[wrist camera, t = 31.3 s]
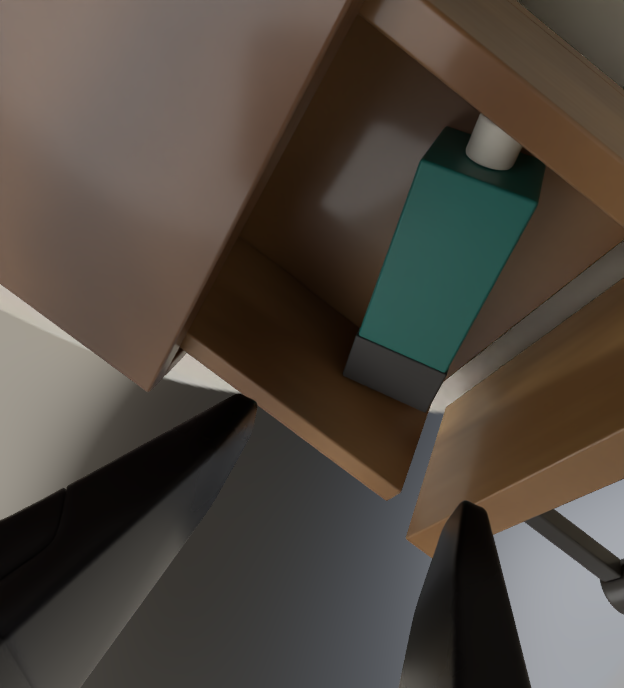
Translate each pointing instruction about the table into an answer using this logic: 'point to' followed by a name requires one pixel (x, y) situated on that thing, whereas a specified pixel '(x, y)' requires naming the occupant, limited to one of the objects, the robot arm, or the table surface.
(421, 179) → the teal square bottle
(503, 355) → the table surface
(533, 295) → the drawer
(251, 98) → the cabinet
